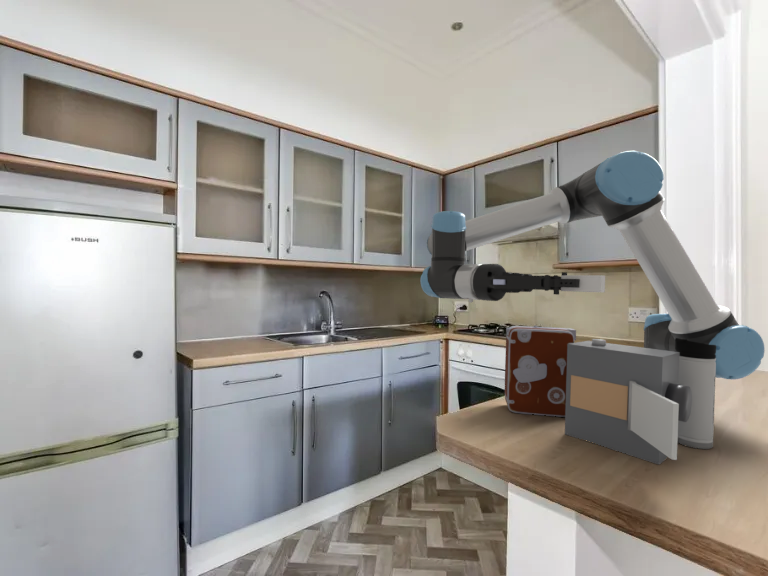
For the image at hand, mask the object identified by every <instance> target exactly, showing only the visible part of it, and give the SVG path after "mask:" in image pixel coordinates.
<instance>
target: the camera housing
mask: <svg viewBox="0 0 768 576" xmlns="http://www.w3.org/2000/svg"><path fill="white" fill-rule="evenodd" d="M679 356H680V352H674V351H666V350H658V349H650V348H644V347H643V346H642V347H641V346H634V345H624V344H617V343H612V342H611V343H610V342H609V343H608V342H607V340H606V339H600V338H592V339H591V340H584V341H577V342H574V343H570V344H568V345H567V377H566V409H565V417H564V435H566V436H570V437H573V438H575V439H578V438H579V440H581V439H583V440H582V441H584V440H587V441H590V442H589V443H591V442H593V443H592V444H594V443H596V444H595V445H597V444H598V446H600V445H601V447H603V446H604V447H603V448H606V447H607V448H606V449H610V450H613V451H616V452H618V451H619V453H621V452H622V454H625V453H626V454H625V455H628V456H631V457H634V458H636V459H640V460H642V461H643V460H644V461H647V462H650V463H653V464H656V465H661V464H662V463H664V462H665V461H666V460H667V459H668V458H667V456H666V455H665V454H663V453H662V452H661V451H659V450H658V449H656V448H655V447H654V446H652V445H651V444H650V443H648V442H647V441H645V440H644V439H643V438H641V437H640V436H639V435H637V434H636V433H634V432H633V431H630V430H628V408H629V381H635V382H636V384H638V385H640V386H643V387H645V388H647V389H649V390H651V391H653V392H655V393H657V394H659V395H661V396H663V397H665V398H667V399H669V400H672V401H674V402H676V403H678V404H679V412H678V421H683V422H687V421H688V419H689V416H690V413H691V408H692V391H691V388H690V387H689V386H684V385H679ZM587 441H586V442H587ZM666 458H667V459H666ZM665 459H666V460H665Z"/></svg>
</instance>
